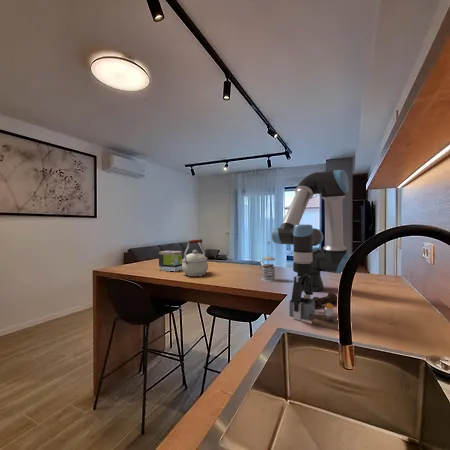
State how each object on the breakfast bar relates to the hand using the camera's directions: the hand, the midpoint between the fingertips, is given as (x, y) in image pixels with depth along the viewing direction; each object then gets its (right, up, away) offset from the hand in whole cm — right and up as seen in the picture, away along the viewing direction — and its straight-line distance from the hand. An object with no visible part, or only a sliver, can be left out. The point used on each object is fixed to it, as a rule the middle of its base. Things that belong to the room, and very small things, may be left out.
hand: (302, 314), depth 108 cm
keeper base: (+7, 0, -9) cm, 11 cm away
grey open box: (0, 0, 0) cm, 0 cm away
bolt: (+12, 0, +12) cm, 17 cm away
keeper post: (+7, +1, -9) cm, 11 cm away
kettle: (-52, +1, +80) cm, 96 cm away
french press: (-4, +1, +63) cm, 63 cm away
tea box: (-74, +2, +95) cm, 120 cm away
